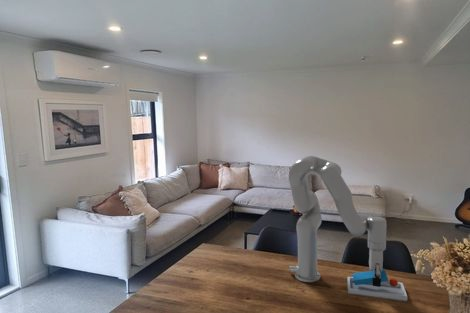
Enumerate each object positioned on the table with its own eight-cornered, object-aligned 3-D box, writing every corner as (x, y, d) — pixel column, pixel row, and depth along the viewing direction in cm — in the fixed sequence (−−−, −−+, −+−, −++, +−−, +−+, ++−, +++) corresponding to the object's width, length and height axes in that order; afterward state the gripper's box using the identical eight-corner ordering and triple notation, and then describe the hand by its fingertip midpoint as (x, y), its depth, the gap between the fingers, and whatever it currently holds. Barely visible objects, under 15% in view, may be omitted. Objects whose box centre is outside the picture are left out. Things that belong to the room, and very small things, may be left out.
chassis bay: (348, 294, 149) (348, 289, 149) (347, 281, 160) (347, 276, 160) (407, 301, 142) (407, 296, 141) (402, 287, 153) (402, 282, 153)
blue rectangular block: (357, 294, 150) (400, 289, 144) (353, 280, 150) (395, 274, 144) (356, 287, 157) (397, 281, 151) (352, 273, 156) (393, 267, 151)
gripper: (366, 236, 157) (365, 272, 160) (369, 251, 141) (368, 290, 143) (383, 238, 155) (382, 274, 157) (388, 253, 139) (387, 292, 141)
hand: (375, 281), depth 150 cm, fingers closed on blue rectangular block, 7 cm apart
